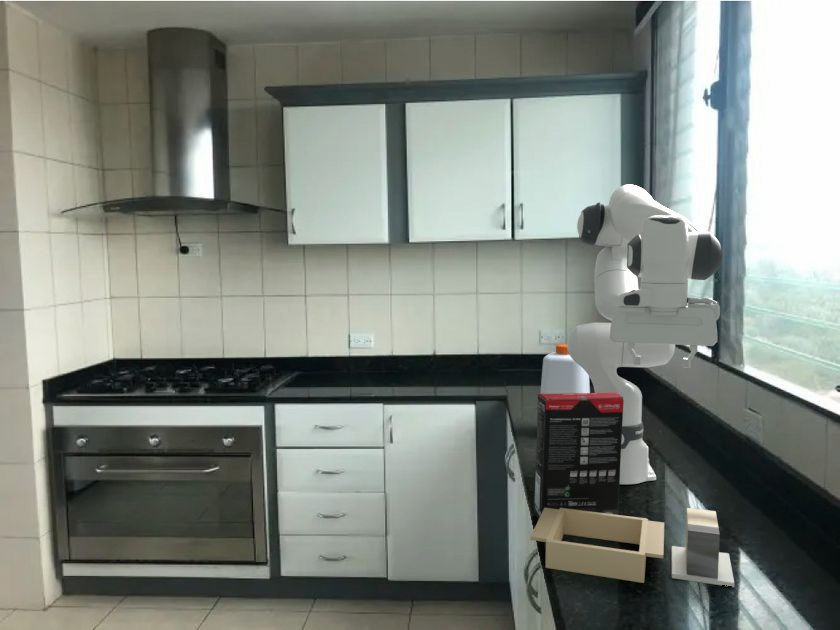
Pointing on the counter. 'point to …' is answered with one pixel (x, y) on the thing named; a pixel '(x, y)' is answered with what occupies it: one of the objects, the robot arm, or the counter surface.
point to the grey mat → (681, 573)
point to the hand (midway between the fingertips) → (661, 366)
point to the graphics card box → (578, 452)
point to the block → (702, 543)
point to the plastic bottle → (563, 374)
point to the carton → (598, 557)
